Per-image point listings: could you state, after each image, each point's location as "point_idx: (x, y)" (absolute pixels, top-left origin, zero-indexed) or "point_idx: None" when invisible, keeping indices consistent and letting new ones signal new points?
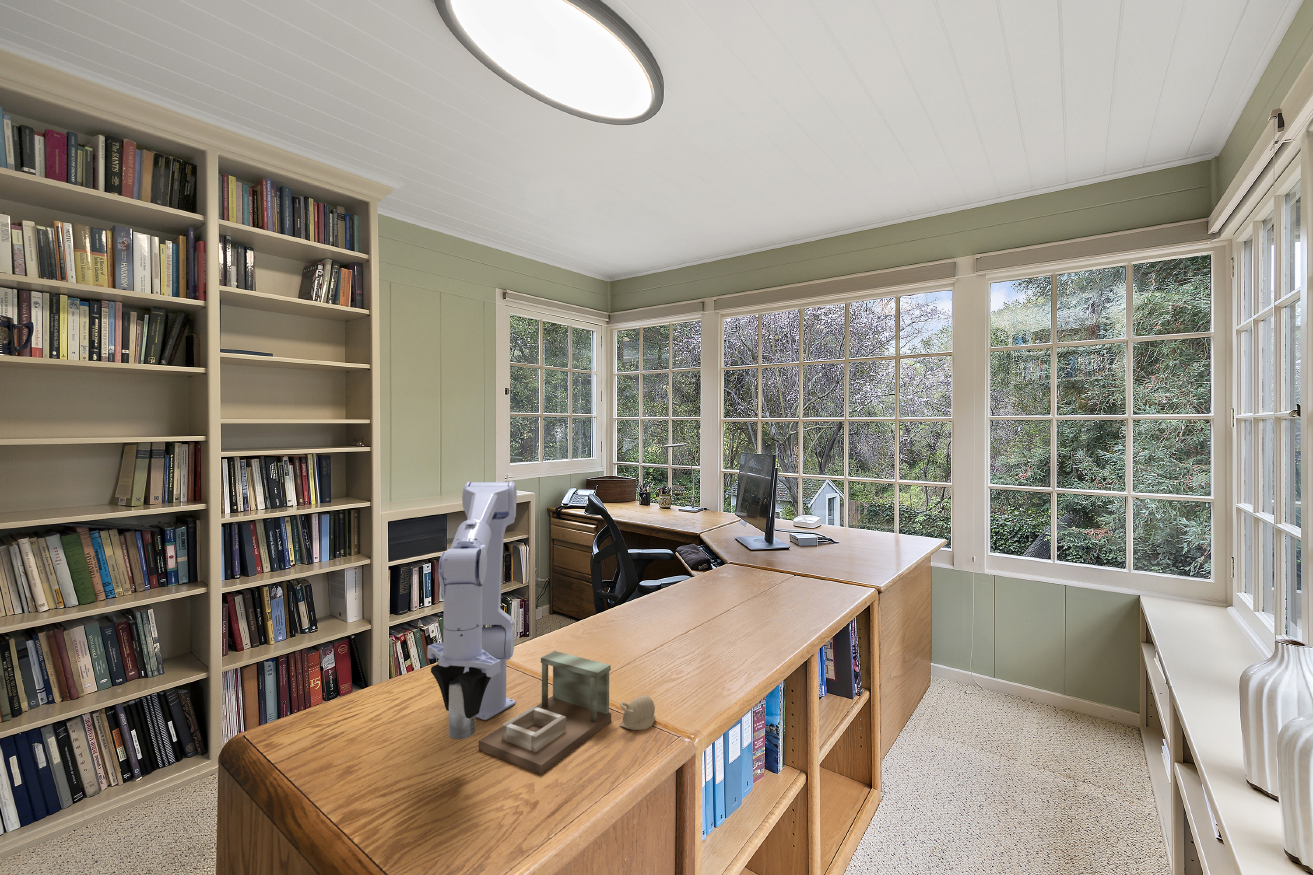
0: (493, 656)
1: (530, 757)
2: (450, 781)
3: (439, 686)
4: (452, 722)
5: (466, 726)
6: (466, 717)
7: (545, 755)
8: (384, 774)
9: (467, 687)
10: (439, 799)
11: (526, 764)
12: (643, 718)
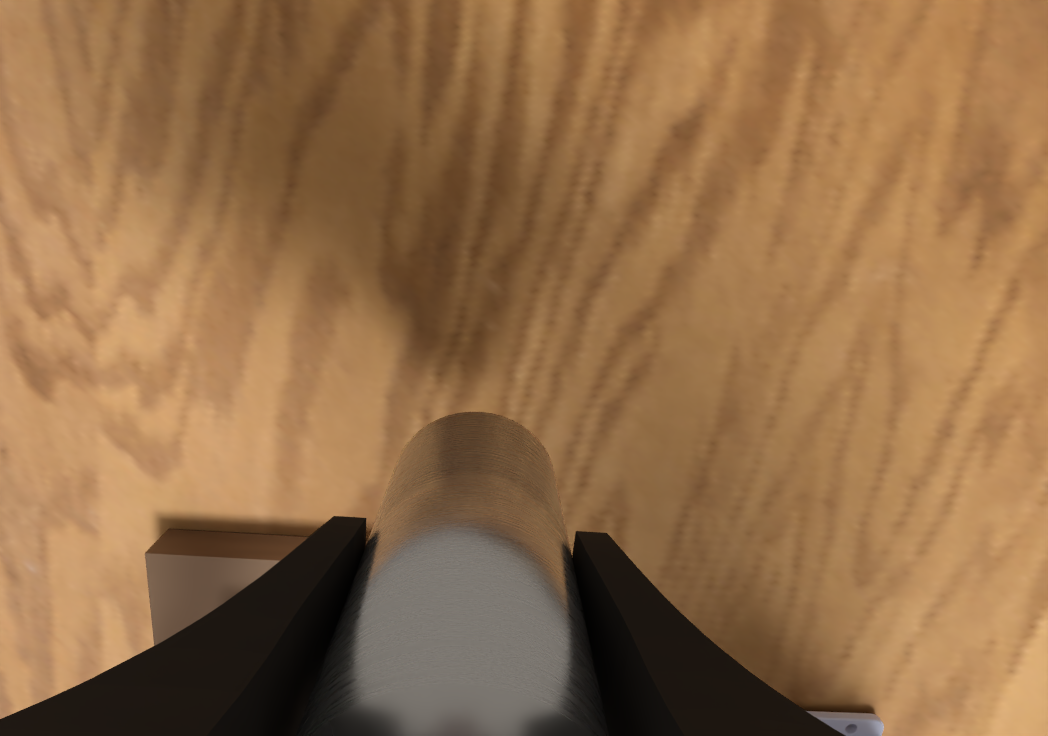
0: None
1: (233, 574)
2: (482, 335)
3: (725, 656)
4: (470, 457)
5: (388, 489)
6: (360, 518)
7: (187, 611)
8: (800, 245)
9: (42, 716)
10: (425, 220)
11: (248, 544)
12: None
